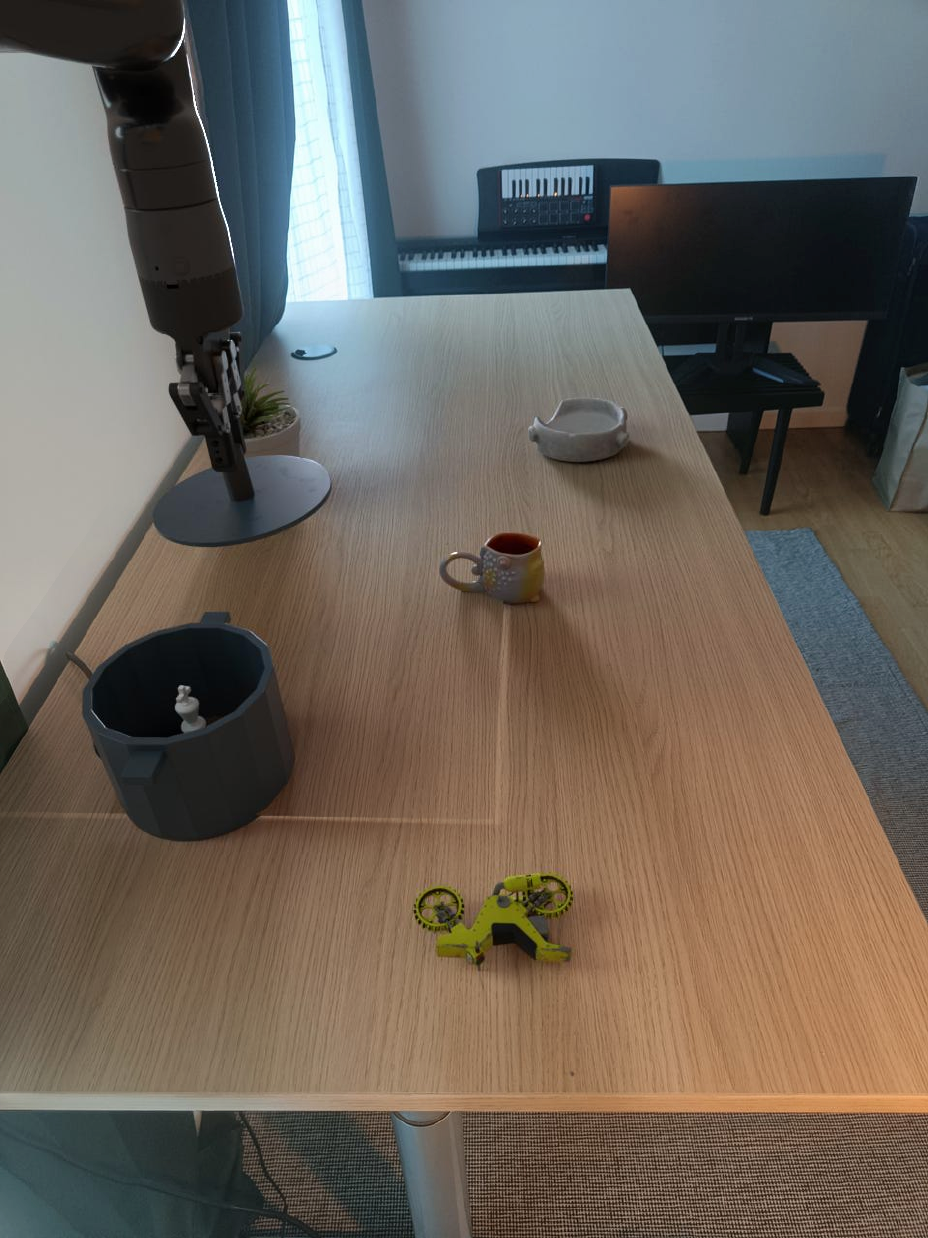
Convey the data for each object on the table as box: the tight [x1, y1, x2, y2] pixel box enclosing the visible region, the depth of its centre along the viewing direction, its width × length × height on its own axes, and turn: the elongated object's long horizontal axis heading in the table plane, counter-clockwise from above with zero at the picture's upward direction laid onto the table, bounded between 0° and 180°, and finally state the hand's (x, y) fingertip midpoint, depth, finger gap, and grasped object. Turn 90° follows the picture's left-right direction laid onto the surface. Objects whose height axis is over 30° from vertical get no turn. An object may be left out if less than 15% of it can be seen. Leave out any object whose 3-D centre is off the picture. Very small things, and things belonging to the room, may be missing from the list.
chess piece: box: [175, 685, 207, 733], centre depth 77 cm, size 5×5×10 cm
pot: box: [81, 611, 296, 842], centre depth 77 cm, size 16×21×12 cm
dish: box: [527, 397, 630, 463], centre depth 129 cm, size 14×14×5 cm
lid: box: [151, 443, 333, 548], centre depth 80 cm, size 17×17×6 cm
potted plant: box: [238, 366, 302, 458], centre depth 116 cm, size 13×14×20 cm
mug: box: [438, 531, 546, 605], centre depth 99 cm, size 12×7×7 cm, turn 90°
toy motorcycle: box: [412, 871, 574, 972], centre depth 64 cm, size 12×4×7 cm
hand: (230, 462), depth 79 cm, fingers closed on lid
